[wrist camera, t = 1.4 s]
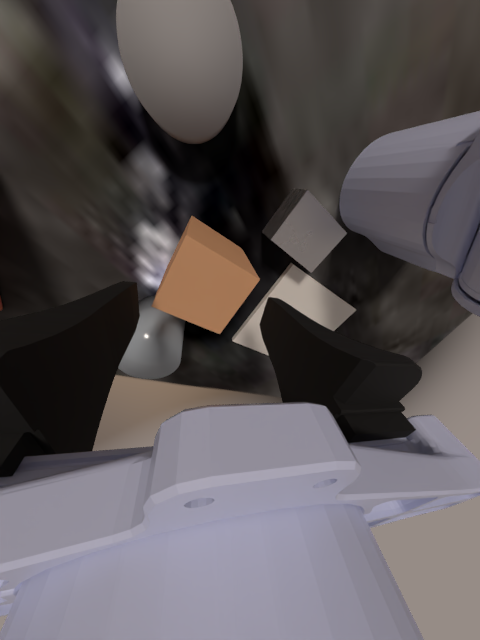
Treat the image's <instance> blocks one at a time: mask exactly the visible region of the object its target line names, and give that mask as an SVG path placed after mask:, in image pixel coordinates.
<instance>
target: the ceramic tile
mask: <svg viewBox="0 0 480 640" xmlns="http://www.w3.org/2000/svg"><path fill="white" fill-rule="evenodd" d="M268 297H273V298H279V299H281V300H282V301H284V302H286V303H287V304H289V305H290V306H292V307H293V308H295V309H296V310H298V311H299V312H301V313H302V314H304V315H306V316H307V317H309V318H310V319H312V320H314V321H315V322H317V323H319V324H320V325H322V326H324V327H326V328H328V329H330V330H332V331H334V330H336V329H337V328H338V327H339V326H340V325H341V324H342V323H343V322H344V321H345V320H346V319H347V318H348V317H349V316H351V315H352V314H353V313H354V312H355V311H356V309H355V308H354V307H352V306H351V305H350V304H348V303H347V302H345V301H344V300H343V299H341V298H340V297H338V296H337V295H336V294H334V293H333V292H331V291H330V290H329V289H327V288H326V287H324V286H323V285H322V284H320V283H319V282H317V281H316V280H315V279H313V278H312V277H310V276H309V275H308V274H306V273H305V272H304V271H302V270H301V269H299V268H298V267H297V266H295V265H294V264H292V263H290V264H289V266H288V267H287V268H286V270H285V271H284V272H283V273H282V275H281V276H280V277H279V279H278V280H277V281H276V282H275V284H274V285H273V286H272V288H271V289H270V290H269V291H268V293H267V294H266V295H265V297H264V298H263V299H262V300H261V302H260V303H259V304H258V305H257V307H256V308H255V309H254V311H253V312H252V313H251V314H250V316H249V317H248V318H247V320H246V321H245V322H244V323H243V325H242V326H241V327H240V329H239V330H238V331H237V332H236V334H235V335H234V336H233V338H232V341H233V342H235V343H238V344H241V345H243V346H246V347H248V348H251V349H253V350H256V351H258V352H261V353H263V354H266V355H268V356H269V354H268V352H267V349H266V347H265V344H264V341H263V338H262V334H261V330H260V325H259V324H260V321H261V318H262V315H263V312H264V309H265V305H266V302H267V299H268Z"/></svg>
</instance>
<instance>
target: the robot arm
mask: <svg viewBox="0 0 480 640" xmlns="http://www.w3.org/2000/svg"><path fill="white" fill-rule="evenodd" d="M339 207H340V214H341V217H342V220H343V222H344V224H345V225H346V226H347V227H348V228H349V229H350V230H351V231H354V232H356V233H359V234H362V235H364V236H366V237H367V238H368V239H369V240H371V242H372V243H373V244H374V245H375V246H376V247H377V248H378V249H379V250H380V251H382V252H384V253H387V254H389V255H392V256H395V257H397V258H400V259H402V260H405V261H407V262H410V263H412V264H415V265H417V266H420V267H422V268H425V269H427V270H431V271H434V272H438V273H440V274H443V275H445V276H448V277H450V278H453V279H454V281H453V283H452V288H451V291H452V295H453V297H454V298H455V300H456V301H457V302H458V303H459V304H460V305H461V306H463V307H464V308H465V309H467V310H468V311H470V312H472V313H473V314H475V315H477V316H479V317H480V111H478V112H474V113H470V114H466V115H462V116H458V117H454V118H450V119H446V120H441V121H437V122H433V123H429V124H425V125H421V126H417V127H413V128H409V129H405V130H401V131H397V132H393V133H390V134H387V135H384V136H382V137H380V138H378V139H377V140H375V141H374V142H372V143H371V144H370V145H369V146H368V147H366V148H365V149H364V150H363V151H362V153H361V154H360V155H359V156H358V157H357V158H356V160H355V161H354V163H353V164H352V166H351V167H350V169H349V171H348V173H347V175H346V177H345V180H344V183H343V186H342V189H341V194H340V206H339ZM139 317H140V313H139V302H138V292H137V283H135V282H125V281H123V282H119V283H117V284H114V285H112V286H110V287H107V288H105V289H103V290H100V291H98V292H96V293H93V294H91V295H88V296H86V297H83V298H81V299H78V300H75V301H73V302H70V303H67V304H64V305H61V306H58V307H55V308H51V309H48V310H44V311H41V312H37V313H32V314H28V315H24V316H19V317H15V318H11V319H6V320H1V321H0V616H5V615H8V616H7V618H6V620H5V623H4V625H3V627H2V629H1V632H0V640H424V639H423V637H422V635H421V633H420V631H419V628H418V626H417V624H416V622H415V620H414V618H413V616H412V614H411V612H410V610H409V608H408V606H407V604H406V602H405V600H404V598H403V595H402V593H401V591H400V589H399V587H398V585H397V583H396V581H395V579H394V577H393V575H392V573H391V571H390V569H389V567H388V565H387V562H386V561H385V558H384V556H383V554H382V552H381V550H380V548H379V546H378V544H377V542H376V540H375V538H374V536H373V534H372V532H371V530H370V528H372V527H376V526H380V525H383V524H387V523H391V522H394V521H398V520H402V519H405V518H409V517H413V516H417V515H421V514H425V513H429V512H433V511H437V510H442V509H445V508H448V507H451V506H454V505H456V504H459V503H461V502H464V501H467V500H470V499H472V498H475V497H477V496H480V461H479V460H478V459H477V458H476V457H475V456H474V455H473V454H472V453H471V452H470V451H469V450H468V449H467V448H466V447H465V446H464V445H463V444H462V443H461V442H460V441H459V440H458V439H457V438H456V437H455V436H454V435H453V434H452V433H451V432H450V431H449V430H448V429H447V428H446V427H445V426H444V425H443V424H442V423H441V422H440V421H439V420H438V419H437V418H436V417H435V416H434V415H419V416H412V417H410V418H406V417H405V416H404V415H403V414H402V413H401V412H402V411H404V410H405V408H404V406H403V405H402V404H401V403H400V402H399V401H400V400H401V399H402V398H403V397H404V396H405V395H406V394H407V393H408V392H409V391H411V390H412V389H413V388H414V387H415V386H416V385H417V384H418V382H419V381H420V379H421V376H422V370H421V368H420V367H419V366H418V365H417V364H416V363H415V362H414V361H412V360H411V359H410V358H408V357H406V356H403V355H399V354H396V353H392V352H388V351H385V350H381V349H378V348H375V347H372V346H369V345H366V344H363V343H360V342H358V341H355V340H352V339H350V338H348V337H345V336H343V335H341V334H338V333H336V332H334V331H332V330H330V329H328V328H326V327H324V326H322V325H320V324H319V323H317V322H315V321H314V320H312V319H310V318H309V317H307V316H306V315H304V314H302V313H301V312H299V311H298V310H296V309H295V308H293V307H292V306H290V305H289V304H287V303H286V302H284V301H282V300H281V299H279V298H273V297H268V299H267V302H266V305H265V309H264V312H263V315H262V318H261V321H260V324H259V325H260V330H261V334H262V338H263V341H264V344H265V347H266V349H267V352H268V354H269V357H270V359H271V362H272V364H273V367H274V370H275V373H276V376H277V380H278V384H279V388H280V392H281V397H282V401H283V403H261V404H231V405H207V406H202V407H197V408H191V409H185V410H183V411H181V412H180V413H178V414H176V415H174V416H172V417H171V418H169V419H167V420H166V421H165V422H163V423H162V424H161V426H160V428H159V430H158V432H157V434H156V437H155V441H154V446H152V447H140V448H128V449H115V450H102V451H92V449H93V445H94V442H95V438H96V434H97V430H98V427H99V423H100V420H101V417H102V413H103V410H104V407H105V404H106V401H107V398H108V394H109V391H110V388H111V385H112V382H113V379H114V377H115V374H116V371H117V369H118V367H119V364H120V362H121V360H122V358H123V356H124V354H125V352H126V350H127V348H128V346H129V344H130V342H131V340H132V337H133V335H134V333H135V331H136V328H137V324H138V321H139Z"/></svg>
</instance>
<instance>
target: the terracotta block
mask: <svg viewBox="0 0 480 640" xmlns="http://www.w3.org/2000/svg"><path fill="white" fill-rule="evenodd" d="M259 280H260V279H259V277H258V275H257V274H256V272H255V270H254V269H253V267H252V265H251V263H250V262H249V260H248V258H247V257H246V255H245V253H244V251H243V250H242V248H240V247H239V246H237V245H236V244H234V243H233V242H231V241H229V240H228V239H226V238H225V237H223V236H222V235H220V234H219V233H217V232H216V231H214V230H213V229H211V228H210V227H208V226H207V225H205V224H204V223H202V222H201V221H199V220H198V219H196V218H195V217H193V216H191V218H190V220H189V222H188V224H187V226H186V229H185V231H184V233H183V235H182V237H181V239H180V241H179V243H178V245H177V247H176V249H175V252H174V254H173V256H172V258H171V260H170V262H169V264H168V266H167V269H166V271H165V274H164V276H163V279H162V281H161V284H160V286H159V289H158V291H157V294H156V296H155V299H154V301H153V304H152V306H151V307H153V308H156V309H158V310H161V311H163V312H166V313H168V314H171V315H173V316H176V317H178V318H181V319H183V320H186V321H188V322H191V323H193V324H196V325H198V326H201V327H203V328H206V329H208V330H210V331H213V332H215V333H218V334H220V333H221V332H222V331H223V329H224V328H225V326H226V325H227V324H228V322H229V321H230V320H231V318H232V317H233V316H234V314H235V313H236V311H237V310H238V309H239V307H240V306H241V305H242V303H243V302H244V301H245V299H246V298H247V296H248V295H249V294H250V292H251V291H252V290H253V288H254V287H255V286H256V284H257V283H258V282H259Z"/></svg>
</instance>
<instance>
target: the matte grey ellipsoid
mask: <svg viewBox="0 0 480 640" xmlns="http://www.w3.org/2000/svg"><path fill="white" fill-rule="evenodd" d="M116 24H117V37H118V44H119V49H120V54H121V58H122V62H123V65H124V68H125V71H126V74H127V76H128V79H129V81H130V84H131V86H132V88H133V90H134V92H135V94H136V95H137V97H138V99H139V100H140V102H141V104H142V105H143V106H144V108H145V109H146V111H147V112H148V113H149V114H150V116H151V117H152V118H153V119H154V121H155V122H156V123H157V124H158V125H159V126H160V128H161V129H163V130H164V131H165V132H166V133H167V134H168V135H170V136H171V137H173V138H175V139H176V140H178V141H181V142H184V143H188V144H201V143H204V142H207V141H209V140H211V139H213V138H214V137H215V136H217V135H218V134H219V133H220V132H221V130H222V129H223V128H224V126H225V125H226V123H227V121H228V119H229V117H230V115H231V113H232V111H233V108H234V106H235V103H236V101H237V98H238V94H239V90H240V85H241V80H242V69H243V55H242V43H241V36H240V30H239V26H238V22H237V18H236V15H235V12H234V9H233V6H232V3H231V1H230V0H117V13H116Z"/></svg>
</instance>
